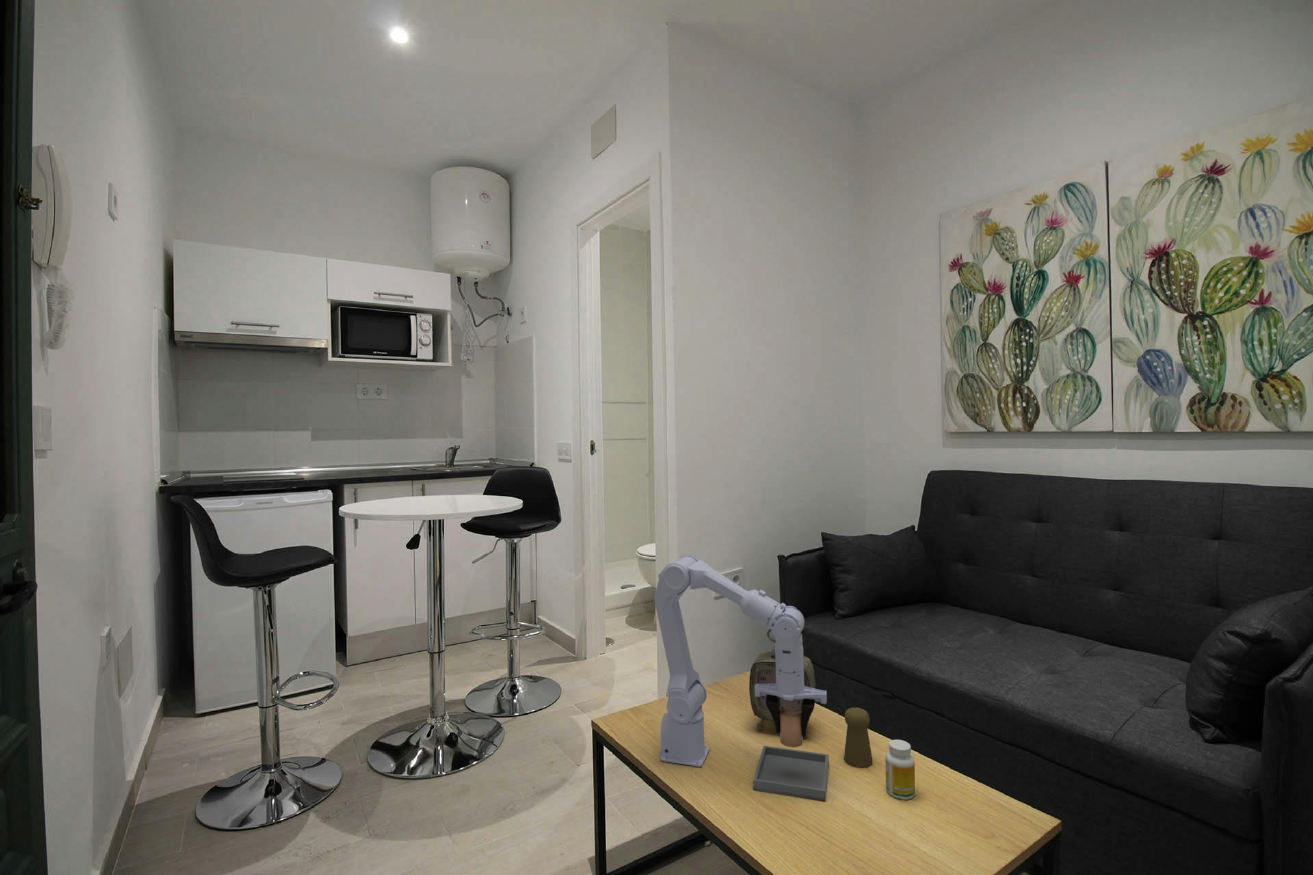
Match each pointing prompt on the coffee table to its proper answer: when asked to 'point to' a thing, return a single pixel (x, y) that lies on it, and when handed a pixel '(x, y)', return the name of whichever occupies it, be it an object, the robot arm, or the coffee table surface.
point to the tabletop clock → (766, 674)
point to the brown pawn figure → (857, 739)
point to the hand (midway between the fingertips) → (791, 732)
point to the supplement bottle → (900, 770)
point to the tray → (792, 773)
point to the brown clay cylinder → (791, 727)
